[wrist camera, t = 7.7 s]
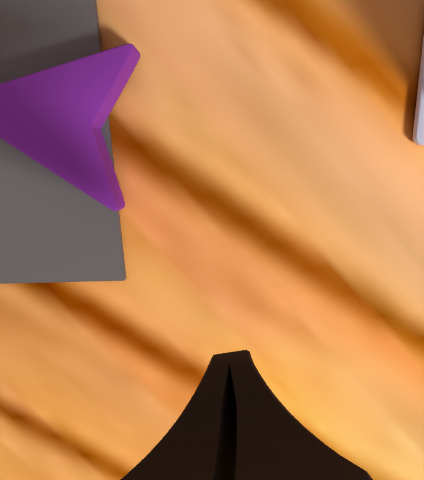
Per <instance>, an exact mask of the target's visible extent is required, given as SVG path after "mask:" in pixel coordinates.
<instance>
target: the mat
mask: <svg viewBox="0 0 424 480" xmlns="http://www.w3.org/2000/svg"><path fill="white" fill-rule="evenodd" d="M99 52H102V51H101V42H100V32H99V23H98V14H97V5H96V0H0V84H2V83H5V82H8V81H11V80H14V79H17V78H20V77H23V76H27V75H30V74H33V73H36V72H39V71H42V70H45V69H49V68H52V67H55V66H58V65H61V64H64V63H67V62H71V61H74V60H77V59H80V58H83V57H86V56H90V55H93V54H96V53H99ZM101 131H102V134H103V137H104V140H105V143H106V146H107V149H108V152H109V155H110V158H111V161H112V165H113V168H114V162H113V152H112V143H111V134H110V125H109V116H108V117H107V119H106V121H105V123H104V125H103V126H102V128H101ZM125 279H126V272H125V263H124V254H123V245H122V235H121V226H120V217H119V211H113V210H111V209H109V208H108V207H106V206H104V205H103V204H101V203H100V202H98V201H97V200H95V199H93V198H92V197H90V196H89V195H87V194H86V193H84V192H83V191H81V190H80V189H78V188H76V187H75V186H73V185H72V184H70V183H69V182H67V181H66V180H64V179H63V178H61V177H59V176H58V175H56V174H55V173H53V172H52V171H50V170H49V169H47V168H46V167H44V166H42V165H41V164H39V163H38V162H36V161H35V160H33V159H32V158H30V157H29V156H27V155H26V154H24V153H22V152H21V151H19V150H18V149H16V148H15V147H13V146H12V145H10V144H9V143H7V142H6V141H4V140H2V139H1V138H0V283H40V282H81V281H122V280H125Z"/></svg>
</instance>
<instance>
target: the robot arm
mask: <svg viewBox="0 0 424 480" xmlns="http://www.w3.org/2000/svg"><path fill="white" fill-rule="evenodd" d="M413 141H414V143H415V144H417V145H424V37H423V46H422V55H421V64H420V74H419V83H418V92H417V101H416V111H415V120H414V129H413ZM121 480H373V479H372V478H371V477H370V475H369V474H368V473H367V472H366V471H365V470H363V469H362V468H360V467H358V466H357V465H355V464H353V463H352V462H350V461H349V460H347V459H345V458H344V457H342V456H340V455H339V454H338V453H336V452H335V451H334V450H332V449H331V448H329V447H328V446H327V445H325V444H324V443H323V442H322V441H320V440H319V439H318V438H317V437H316V436H315V435H313V434H312V433H311V432H310V431H309V430H307V429H306V428H305V427H304V426H303V425H302V424H301V423H300V422H299V421H298V420H297V419H296V418H294V416H293V415H292V414H291V413H290V412H289V411H288V410H287V409H286V408H285V407H284V406H283V405H282V403H281V402H280V401H279V400H278V399H277V397H276V396H275V395H274V394H273V392H272V391H271V390H270V388H269V387H268V386H267V384H266V383H265V381H264V380H263V378H262V377H261V375H260V374H259V372H258V370H257V368H256V367H255V365H254V363H253V360H252V358H251V355H250V352H249V351H247V350H242V351H236V352H229V353H222V354H216V355H213V357H212V358H211V361H210V363H209V365H208V368H207V370H206V372H205V374H204V376H203V378H202V380H201V382H200V384H199V386H198V387H197V389H196V391H195V393H194V395H193V396H192V398H191V400H190V401H189V403H188V404H187V406H186V408H185V409H184V411H183V412H182V414H181V415H180V417H179V418H178V419H177V421H176V422H175V424H174V425H173V426H172V427H171V429H170V430H169V431H168V433H167V434H166V435H165V436H164V437H163V438H162V440H161V441H160V442H159V443H158V444H157V445H156V446H155V447H154V448H153V449H152V451H151V452H150V453H149V454H148V455H147V456H146V457H145V458H144V459H143V460H142V461H141V462H140V463H139V464H138V465H136V466H135V467H134V468H133V469H132V470H131V471H130V472H129V473H128V474H127V475H125V476H124V477H123V478H122V479H121Z"/></svg>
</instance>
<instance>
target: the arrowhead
mask: <svg viewBox="0 0 424 480" xmlns="http://www.w3.org/2000/svg"><path fill="white" fill-rule="evenodd" d="M139 58H140V53H139V52H138V50H137V49H136V48H135V47H134V45H132V44H126V45H122V46H119V47H115V48H112V49H109V50H106V51H102V52H99V53H96V54H93V55H90V56H86V57H83V58H80V59H77V60H74V61H71V62H67V63H64V64H61V65H58V66H55V67H52V68H49V69H45V70H42V71H39V72H36V73H33V74H30V75H27V76H23V77H20V78H17V79H14V80H11V81H8V82H5V83H2V84H0V138H1V139H2V140H4V141H6V142H7V143H9V144H10V145H12V146H13V147H15V148H16V149H18V150H19V151H21V152H22V153H24V154H26V155H27V156H29V157H30V158H32V159H33V160H35V161H36V162H38V163H39V164H41V165H42V166H44V167H46V168H47V169H49V170H50V171H52V172H53V173H55V174H56V175H58V176H59V177H61V178H63V179H64V180H66V181H67V182H69V183H70V184H72V185H73V186H75V187H76V188H78V189H80V190H81V191H83V192H84V193H86V194H87V195H89V196H90V197H92V198H93V199H95V200H97V201H98V202H100V203H101V204H103V205H104V206H106V207H108V208H109V209H111V210H113V211H119V210H120V209H122V208H124V206H125V202H124V199H123V195H122V192H121V189H120V186H119V183H118V180H117V177H116V174H115V171H114V168H113V165H112V161H111V158H110V155H109V152H108V149H107V146H106V143H105V140H104V137H103V134H102V131H101V128H102V126H103V125H104V123H105V121H106V119H107V117H108V116H109V114H110V112H111V110H112V108H113V107H114V105H115V103H116V101H117V99H118V97H119V96H120V94H121V92H122V90H123V88H124V87H125V85H126V83H127V81H128V79H129V77H130V76H131V74H132V72H133V70H134V68H135V66H136V64H137V62H138V60H139Z"/></svg>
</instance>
